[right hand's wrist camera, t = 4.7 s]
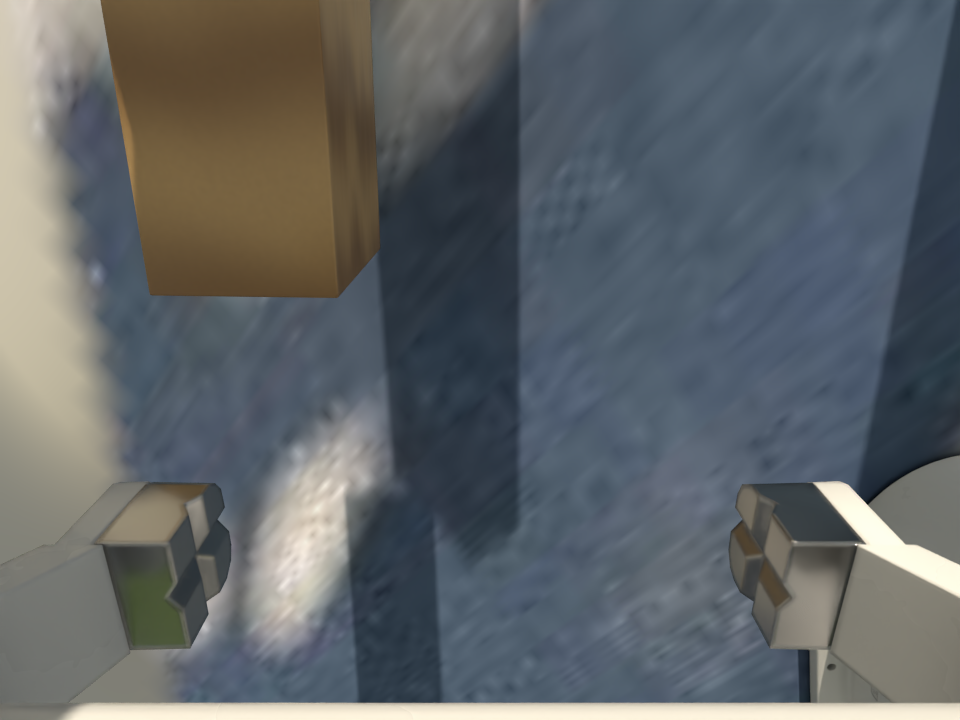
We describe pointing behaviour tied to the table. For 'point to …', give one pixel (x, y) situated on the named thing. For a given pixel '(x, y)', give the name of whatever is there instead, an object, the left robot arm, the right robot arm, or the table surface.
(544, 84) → the table surface
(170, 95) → the bar
